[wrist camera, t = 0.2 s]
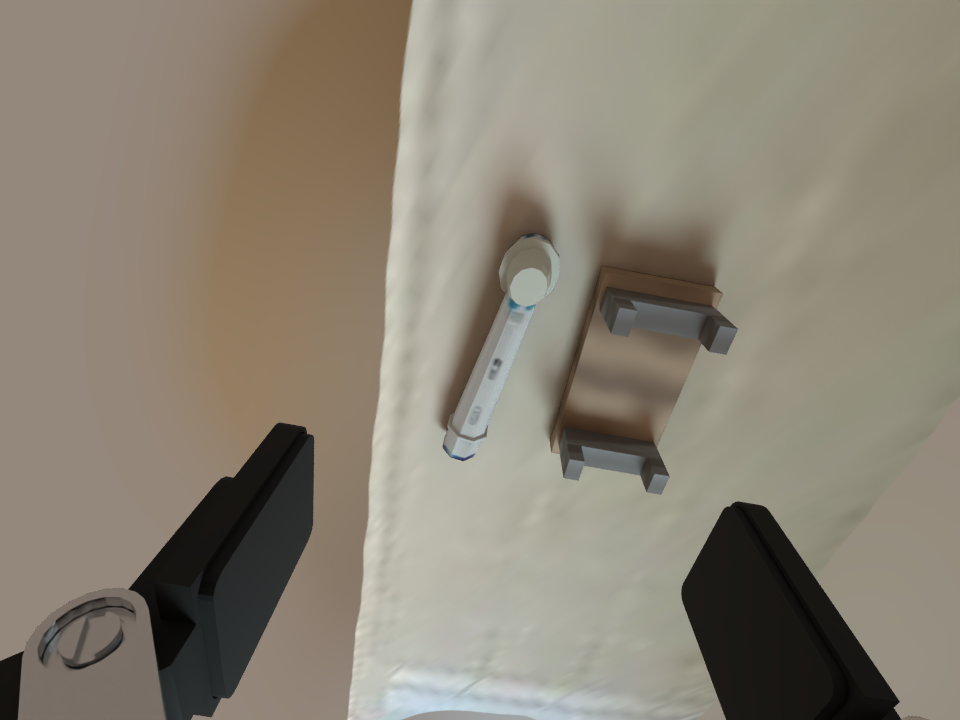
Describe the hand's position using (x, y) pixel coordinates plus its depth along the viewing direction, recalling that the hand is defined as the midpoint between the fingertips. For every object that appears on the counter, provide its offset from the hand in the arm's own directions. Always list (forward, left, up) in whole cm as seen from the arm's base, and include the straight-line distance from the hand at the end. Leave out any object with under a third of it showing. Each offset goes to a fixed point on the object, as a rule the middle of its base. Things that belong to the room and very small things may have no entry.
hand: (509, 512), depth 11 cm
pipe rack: (+13, +15, -36) cm, 41 cm away
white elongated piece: (+13, +1, -37) cm, 39 cm away
